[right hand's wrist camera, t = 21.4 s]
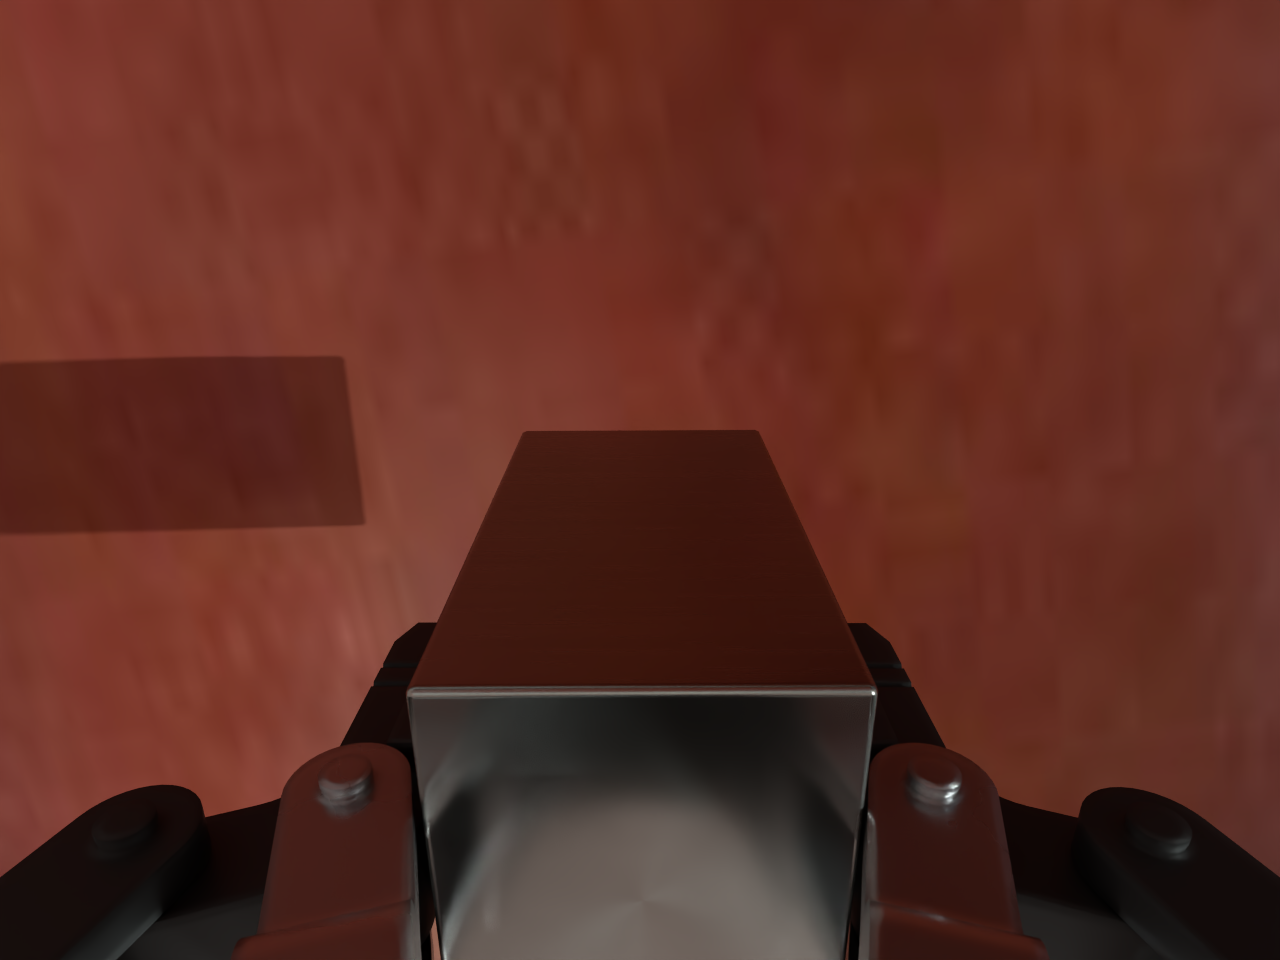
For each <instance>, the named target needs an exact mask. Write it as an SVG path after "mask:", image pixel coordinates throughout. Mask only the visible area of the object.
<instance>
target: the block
mask: <svg viewBox="0 0 1280 960" xmlns="http://www.w3.org/2000/svg"><path fill="white" fill-rule="evenodd" d="M877 696H878V689H877V687H876V684H875V682H874V680H873V678H872V675H871V673H870V671H869V669H868V667H867V665H866V662H865V660H864V658H863V656H862V654H861V652H860V649H859V647H858V645H857V643H856V641H855V639H854V637H853V634H852V632H851V630H850V628H849V626H848V624H847V621H846V619H845V617H844V615H843V613H842V611H841V608H840V606H839V604H838V602H837V600H836V598H835V595H834V593H833V591H832V589H831V587H830V585H829V583H828V580H827V578H826V576H825V574H824V572H823V570H822V567H821V565H820V563H819V561H818V559H817V557H816V554H815V552H814V550H813V548H812V546H811V544H810V542H809V539H808V537H807V535H806V533H805V531H804V529H803V526H802V524H801V522H800V520H799V518H798V516H797V513H796V511H795V509H794V507H793V505H792V503H791V501H790V498H789V496H788V494H787V492H786V490H785V488H784V485H783V483H782V481H781V479H780V477H779V475H778V472H777V470H776V468H775V466H774V464H773V462H772V459H771V457H770V455H769V453H768V451H767V449H766V447H765V444H764V442H763V440H762V438H761V436H760V434H759V432H758V431H756V430H661V431H526V432H524V433H523V434H522V436H521V438H520V440H519V443H518V445H517V447H516V449H515V451H514V454H513V456H512V458H511V460H510V462H509V465H508V467H507V469H506V471H505V474H504V476H503V478H502V480H501V482H500V485H499V487H498V489H497V491H496V493H495V496H494V498H493V500H492V502H491V505H490V507H489V509H488V511H487V513H486V516H485V518H484V520H483V522H482V524H481V527H480V529H479V531H478V533H477V535H476V538H475V540H474V542H473V544H472V547H471V549H470V551H469V553H468V555H467V558H466V560H465V562H464V564H463V566H462V569H461V571H460V573H459V575H458V577H457V580H456V582H455V584H454V586H453V589H452V591H451V593H450V595H449V597H448V600H447V602H446V604H445V606H444V608H443V611H442V613H441V615H440V617H439V619H438V622H437V624H436V626H435V628H434V631H433V633H432V635H431V637H430V639H429V642H428V644H427V646H426V648H425V650H424V653H423V655H422V657H421V659H420V661H419V664H418V666H417V668H416V670H415V673H414V675H413V677H412V679H411V681H410V684H409V686H408V688H407V691H406V699H407V706H408V714H409V721H410V729H411V737H412V744H413V752H414V759H415V767H416V774H417V782H418V789H419V797H420V805H421V812H422V820H423V827H424V835H425V842H426V850H427V858H428V865H429V873H430V880H431V888H432V895H433V903H434V910H435V918H436V926H437V933H438V941H439V948H440V956H441V960H845V959H846V951H847V942H848V934H849V926H850V918H851V910H852V901H853V893H854V885H855V877H856V869H857V860H858V852H859V844H860V836H861V828H862V819H863V811H864V803H865V795H866V787H867V778H868V770H869V762H870V754H871V746H872V737H873V729H874V721H875V713H876V705H877Z"/></svg>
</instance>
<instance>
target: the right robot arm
mask: <svg viewBox="0 0 1280 960" xmlns="http://www.w3.org/2000/svg"><path fill="white" fill-rule="evenodd" d="M436 624H437V623H417V624H416V625H415V626H414V627H412V628H411V629H410V630H409V631H407V632H406V633H405V634H404V635H402V636H401V637H400V638H399V639H397V640H396V641H395V642H394V644H393V646H392V648H391V650H390V652H389V653H388V655H387V657H386V659H385V661H384V663H383V668H381V669H380V671H379V673H378V675H377V676H376V678H375V680H374V686H371V688H370V690H369V692H368V694H367V696H366V697H365V699H364V701H363V703H362V705H361V707H360V709H359V711H358V713H357V715H356V717H355V719H354V720H353V722H352V724H351V726H350V728H349V730H348V732H347V734H346V736H345V738H344V740H343V742H342V743H341V745H340V747H337V748H334V749H331V750H328V751H326V752H324V753H321V754H319V755H317V756H316V757H314V758H312V759H311V760H309V761H308V762H306V763H305V764H304V765H302V766H301V767H300V768H299V769H298V770H297V771H296V772H294V774H293V775H292V776H291V777H290V779H289V780H288V781H287V783H286V785H285V787H284V789H283V792H282V795H281V798H279V799H276V800H274V801H271V802H268V803H264V804H260V805H257V806H252V807H248V808H244V809H239V810H235V811H231V812H226V813H222V814H218V815H214V816H209V817H205V815H204V811H203V807H202V804H201V801H200V799H199V797H198V796H197V795H196V794H195V793H194V792H192V791H191V790H189V789H186V788H184V787H180V786H175V785H155V786H147V787H142V788H138V789H134V790H131V791H127V792H124V793H122V794H119V795H116V796H114V797H112V798H110V799H107V800H105V801H103V802H101V803H99V804H98V805H96V806H94V807H93V808H91V809H89V810H88V811H86V812H85V813H83V814H82V815H81V816H79V817H78V818H76V819H75V820H74V821H73V822H71V823H70V824H69V825H67V826H66V827H65V828H64V829H62V830H61V831H60V832H58V833H57V834H56V835H54V836H53V837H52V838H51V839H49V840H48V841H47V842H45V843H44V844H43V845H42V846H40V847H39V848H38V849H36V850H35V851H34V852H33V853H31V854H30V855H29V856H27V857H26V858H25V859H23V860H22V861H21V862H20V863H18V864H17V865H16V866H14V867H13V868H12V869H11V870H9V871H8V872H7V873H5V874H4V875H3V876H1V877H0V960H434V950H433V939H432V932H431V928H432V926H433V922H434V919H435V910H434V903H433V895H432V888H431V880H430V873H429V865H428V858H427V850H426V842H425V835H424V827H423V820H422V812H421V805H420V797H419V789H418V782H417V774H416V767H415V759H414V752H413V744H412V737H411V729H410V721H409V714H408V706H407V699H406V691H407V688H408V686H409V684H410V681H411V679H412V677H413V675H414V673H415V670H416V668H417V666H418V664H419V661H420V659H421V657H422V655H423V653H424V650H425V648H426V646H427V644H428V642H429V639H430V637H431V635H432V633H433V631H434V628H435V626H436ZM847 624H848V626H849V628H850V630H851V632H852V634H853V637H854V639H855V641H856V643H857V645H858V647H859V649H860V652H861V654H862V656H863V658H864V660H865V662H866V665H867V667H868V669H869V671H870V673H871V675H872V678H873V680H874V682H875V684H876V687H877V689H878V696H877V705H876V713H875V721H874V729H873V737H872V746H871V754H870V762H869V770H868V778H867V787H866V795H865V803H864V811H863V819H862V828H861V836H860V844H859V852H858V860H857V869H856V877H855V885H854V893H853V901H852V910H851V918H850V926H849V934H848V942H847V951H846V960H1280V877H1279V876H1277V875H1276V874H1275V873H1273V872H1272V871H1271V870H1269V869H1268V868H1267V867H1266V866H1264V865H1263V864H1262V863H1260V862H1259V861H1258V860H1257V859H1255V858H1254V857H1253V856H1251V855H1250V854H1249V853H1248V852H1246V851H1245V850H1244V849H1242V848H1241V847H1240V846H1238V845H1237V844H1236V843H1235V842H1233V841H1232V840H1231V839H1229V838H1228V837H1227V836H1226V835H1224V834H1223V833H1222V832H1220V831H1219V830H1218V829H1216V828H1215V827H1214V826H1213V825H1211V824H1210V823H1209V822H1207V821H1206V820H1205V819H1203V818H1202V817H1201V816H1199V815H1198V814H1196V813H1195V812H1193V811H1192V810H1190V809H1188V808H1186V807H1185V806H1183V805H1181V804H1179V803H1177V802H1175V801H1173V800H1171V799H1168V798H1166V797H1163V796H1160V795H1158V794H1155V793H1151V792H1148V791H1144V790H1139V789H1134V788H1124V787H1110V788H1105V789H1100V790H1097V791H1095V792H1093V793H1091V794H1090V795H1088V796H1087V797H1086V798H1085V800H1084V801H1083V803H1082V806H1081V809H1080V813H1079V817H1078V818H1076V817H1072V816H1068V815H1063V814H1059V813H1055V812H1050V811H1046V810H1042V809H1038V808H1033V807H1029V806H1025V805H1022V804H1018V803H1015V802H1012V801H1009V800H1007V799H1004V798H1002V797H999V795H998V792H997V789H996V787H995V785H994V783H993V781H992V780H991V779H990V777H989V776H988V775H987V774H986V772H984V771H983V770H982V769H981V768H980V767H979V766H978V765H976V764H975V763H974V762H972V761H971V760H969V759H968V758H966V757H964V756H963V755H961V754H959V753H956V752H954V751H952V750H949V749H946V747H945V745H944V743H943V741H942V740H941V738H940V736H939V734H938V732H937V730H936V728H935V726H934V725H933V723H932V721H931V719H930V717H929V715H928V713H927V711H926V709H925V708H924V706H923V704H922V702H921V700H920V698H919V696H918V694H917V693H916V691H915V689H914V687H911V681H910V679H909V677H908V676H907V674H906V672H905V670H904V669H902V667H901V662H900V661H899V659H898V657H897V655H896V653H895V651H894V649H893V647H892V645H891V644H890V642H889V641H888V640H886V639H885V638H884V637H883V636H881V635H880V634H879V633H878V632H876V631H875V630H874V629H873V628H871V627H870V626H869V625H867V624H866V623H847Z"/></svg>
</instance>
